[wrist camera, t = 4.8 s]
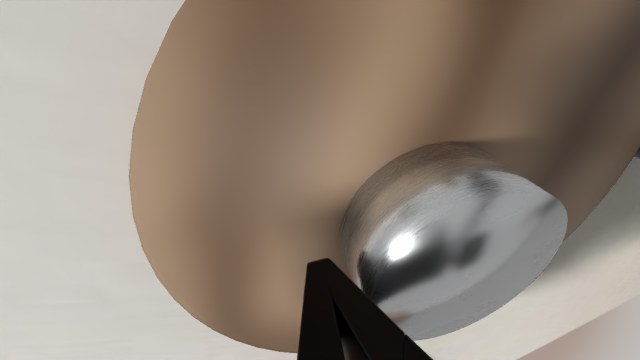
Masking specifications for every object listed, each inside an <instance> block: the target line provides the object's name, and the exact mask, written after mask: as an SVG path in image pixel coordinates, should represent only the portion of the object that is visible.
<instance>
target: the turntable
mask: <svg viewBox="0 0 640 360" xmlns="http://www.w3.org/2000/svg"><path fill="white" fill-rule="evenodd" d="M448 141H450V142H462V143H466V144H470V145H472V146H475V147H477V148H479V149H480V150H482V151H483V152H485V153H487V154H488V155H490V156H491V157H493V158H494V159H496V160H498V161H499V162H501V163H502V164H504V165H505V166H507V167H509V168H510V169H512V170H513V171H515V172H516V173H518V174H520V175H521V176H523V177H524V178H526V179H527V180H529V181H531V182H532V183H534V184H535V185H537V186H538V187H540V188H542V189H543V190H545V191H546V192H548V193H549V194H551V195H553V196H554V197H555V198H557V199H558V200H560V202H561V203H562V204H563V205H564V207H565V210H566V212H567V219H568V222H567V230H566V233H565V236H564V239H563V241H564V240H565V239H566V238H567V237H568V236H569V235H570V234H571V233H572V232H573V231H574V230H575V229H576V228H577V227H578V226H579V225H580V224H581V223H582V222H583V221H584V220H585V218H586V217H587V216H588V215H589V214H590V213H591V212H592V211H593V210H594V209H595V207H596V206H597V205H598V204H599V203H600V201H601V200H602V199H603V198H604V196H605V195H606V194H607V193H608V191H609V190H610V189H611V188H612V187H613V185H614V184H615V183H616V181H617V180H618V178H619V177H620V176H621V174H622V173H623V171H624V170H625V168H626V167H627V166H628V164H629V163H630V161H631V160H632V158H633V157H634V155H635V153H636V152H637V150H638V148H639V147H640V0H186V1H185V2H184V4H183V5H182V7H181V8H180V10H179V11H178V13H177V14H176V16H175V17H174V19H173V20H172V22H171V24H170V27H169V29H168V31H167V33H166V35H165V38H164V40H163V42H162V44H161V47H160V49H159V51H158V53H157V55H156V58H155V60H154V62H153V64H152V67H151V69H150V71H149V73H148V75H147V78H146V82H145V85H144V89H143V93H142V97H141V101H140V104H139V108H138V112H137V116H136V120H135V123H134V127H133V134H132V146H131V158H130V170H129V181H130V191H131V201H132V211H133V218H134V221H135V225H136V228H137V231H138V235H139V238H140V241H141V245H142V248H143V251H144V253H145V255H146V257H147V259H148V260H149V262H150V264H151V266H152V268H153V270H154V272H155V274H156V276H157V278H158V279H159V280H160V282H161V283H162V284H163V285H164V287H165V288H166V289H167V291H168V292H169V293H170V294H171V296H172V297H173V298H174V300H175V301H176V302H178V303H179V304H180V305H181V306H182V307H183V308H184V309H185V310H186V311H188V312H189V313H190V314H191V315H192V316H193V317H194V318H196V319H197V320H199V321H200V322H202V323H203V324H205V325H207V326H208V327H210V328H211V329H213V330H214V331H216V332H218V333H221V334H223V335H225V336H227V337H229V338H231V339H234V340H236V341H239V342H242V343H245V344H248V345H252V346H255V347H258V348H263V349H268V350H274V351H279V352H289V353H298V345H299V335H300V326H301V316H302V306H303V296H304V287H305V277H306V267H307V263H308V262H312V261H316V260H319V259H323V258H329V259H331V260H332V261H333V262H334V263H335V264H336V265H337V266H338V267H339V268H340V269H341V270H342V271H343V272H344V273H345V274H346V275H347V276H348V277H349V278H350V279H351V280H352V281H353V279H352V277H351V274H350V272H349V270H348V267H347V265H346V263H345V260H344V258H343V256H342V253H341V251H340V247H339V239H338V235H339V227H340V223H341V219H342V217H343V214H344V212H345V209H346V208H347V206H348V204H349V202H350V201H351V199H352V197H353V196H354V195H355V193H356V192H357V191H358V189H359V188H360V187H361V186H362V185H363V184H364V183H365V182H366V180H367V179H368V178H370V177H371V176H372V175H373V174H374V173H375V172H376V171H377V170H379V169H380V168H381V167H383V166H384V165H386V164H387V163H388V162H390V161H392V160H393V159H395V158H397V157H398V156H400V155H402V154H404V153H406V152H408V151H411V150H413V149H416V148H418V147H421V146H424V145H428V144H433V143H437V142H448ZM563 241H562V242H563Z"/></svg>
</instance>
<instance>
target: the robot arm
mask: <svg viewBox="0 0 640 360" xmlns="http://www.w3.org/2000/svg"><path fill="white" fill-rule="evenodd" d="M297 360H433V359H432V358H431V357H430V356H428V355H427V354H426V353H425V352H424V351H423V350H422V349H421V348H420V347H419V346H418V345H417V344H416V343H415V342H414V341H413V340H412V339H411V338H410V337H409V336H408V335H406V334H405V335H404V332H403V331H402V330H401V329H400V328H399V327H398V326H397V325H396V324H395V323H394V322H393V321H392V320H391V319H390V318H389V317H388V316H387V315H386V314H385V313H384V312H383V311H382V310H381V309H380V308H379V307H378V306H377V305H376V304H375V303H374V302H373V301H372V300H371V299H370V298H369V297H368V296H367V295H366V294H365V293H364V292H363V291H362V290H361V289H360V288H359V287H358V286H357V285H356V284H355V283H354V282H353V281H352V280H351V279H350V278H349V277H348V276H347V275H346V274H345V273H344V272H343V271H342V270H341V269H340V268H339V267H338V266H337V265H336V264H335V263H334V262H333V261H332V260H331V259H329V258H323V259H319V260H316V261H312V262H308V263H307V267H306V277H305V287H304V296H303V306H302V316H301V326H300V335H299V345H298V355H297Z"/></svg>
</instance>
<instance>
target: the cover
mask: <svg viewBox="0 0 640 360" xmlns="http://www.w3.org/2000/svg"><path fill="white" fill-rule="evenodd" d="M567 222H568V219H567V212H566V210H565V207H564V205H563V204H562V203H561V202H560V200H558V199H557V198H555V197H554V196H553V195H551V194H549V193H548V192H546V191H545V190H543V189H542V188H540V187H538V186H537V185H535V184H534V183H532V182H531V181H529V180H527V179H526V178H524V177H523V176H521V175H520V174H518V173H516V172H515V171H513V170H512V169H510V168H509V167H507V166H505V165H504V164H502V163H501V162H499V161H498V160H496V159H494V158H493V157H491V156H490V155H488V154H487V153H485V152H483V151H482V150H480V149H479V148H477V147H475V146H472V145H470V144H466V143H462V142H450V141H448V142H437V143H433V144H428V145H424V146H421V147H418V148H416V149H413V150H411V151H408V152H406V153H404V154H402V155H400V156H398V157H397V158H395V159H393V160H392V161H390V162H388V163H387V164H386V165H384V166H383V167H381V168H380V169H379V170H377V171H376V172H375V173H374V174H373V175H372V176H371V177H370V178H368V179H367V180H366V182H365V183H364V184H363V185H362V186H361V187H360V188H359V189H358V191H357V192H356V193H355V195H354V196H353V197H352V199H351V201H350V202H349V204H348V206H347V208H346V209H345V212H344V214H343V217H342V219H341V223H340V227H339V235H338V239H339V247H340V251H341V253H342V256H343V258H344V260H345V263H346V265H347V267H348V270H349V272H350V274H351V277H352V279H353V282H354V283H355V284H356V285H357V286H358V287H359V288H360V289H361V290H362V291H363V292H364V293H365V294H366V295H367V296H368V297H369V298H370V299H371V300H372V301H373V302H374V303H375V304H376V305H377V306H378V307H379V308H380V309H381V310H382V311H383V312H384V313H385V314H386V315H387V316H388V317H389V318H390V319H391V320H392V321H393V322H394V323H395V324H396V325H397V326H398V327H399V328H400V329H401V330H402V331H403V332H404V335H405V334H406V335H408V336H409V337H410V338H411V339H412V340H413V341H415V340H423V339H429V338H434V337H438V336H441V335H445V334H448V333H451V332H453V331H456V330H459V329H461V328H463V327H466V326H468V325H470V324H472V323H474V322H476V321H478V320H480V319H482V318H484V317H486V316H487V315H489V314H491V313H492V312H494V311H496V310H497V309H499V308H500V307H502V306H503V305H505V304H506V303H508V302H509V301H510V300H512V299H513V298H514V297H516V296H517V295H518V294H519V293H520V292H522V291H523V290H524V289H525V288H526V287H527V286H529V285H530V284H531V283H532V282H533V281H534V280H535V279H536V278H537V277H538V276H539V275H540V274H541V273H542V271H543V270H544V269H545V268H546V267H547V265H548V264H549V263H550V261H551V260H552V259H553V257H554V256H555V254H556V253H557V251H558V249H559V248H560V246H561V243H562V241H563V239H564V236H565V233H566V230H567Z"/></svg>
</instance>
